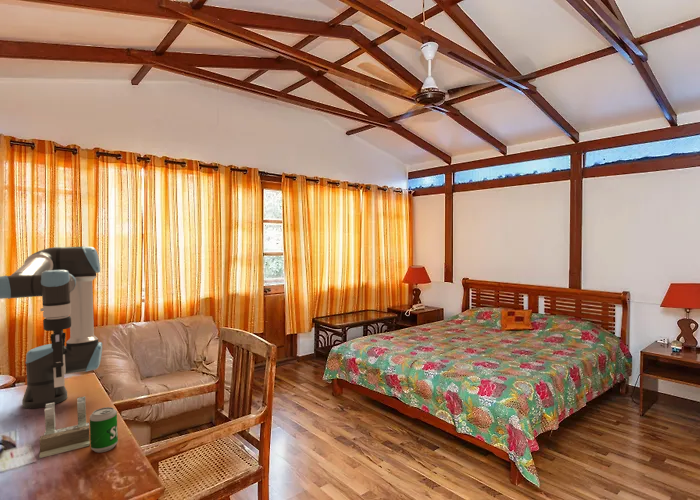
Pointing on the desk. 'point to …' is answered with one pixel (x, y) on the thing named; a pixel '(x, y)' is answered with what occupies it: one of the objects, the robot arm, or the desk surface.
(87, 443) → the mat
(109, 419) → the soda can
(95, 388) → the desk surface
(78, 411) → the rack
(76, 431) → the rail
